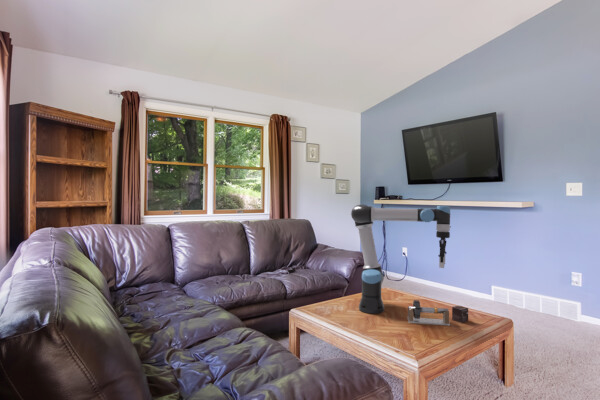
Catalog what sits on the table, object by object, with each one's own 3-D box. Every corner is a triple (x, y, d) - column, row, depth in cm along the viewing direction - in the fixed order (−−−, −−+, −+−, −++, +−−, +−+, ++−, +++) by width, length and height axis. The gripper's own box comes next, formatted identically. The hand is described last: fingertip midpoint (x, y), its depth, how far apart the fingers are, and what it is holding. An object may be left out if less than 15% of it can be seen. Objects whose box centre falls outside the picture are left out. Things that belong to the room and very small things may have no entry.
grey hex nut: (415, 320, 179) (415, 303, 179) (413, 314, 188) (413, 298, 188) (420, 320, 178) (420, 303, 178) (417, 315, 187) (417, 298, 187)
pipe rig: (409, 322, 180) (409, 308, 180) (407, 318, 187) (407, 304, 187) (450, 325, 176) (450, 310, 177) (446, 321, 183) (446, 306, 183)
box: (461, 323, 180) (461, 309, 180) (451, 319, 186) (451, 306, 186) (468, 321, 183) (468, 308, 183) (458, 318, 188) (459, 305, 189)
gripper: (449, 233, 190) (448, 270, 189) (450, 230, 212) (449, 263, 212) (435, 232, 193) (434, 268, 193) (437, 229, 215) (436, 262, 215)
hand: (442, 265), depth 202 cm, fingers open, 13 cm apart
